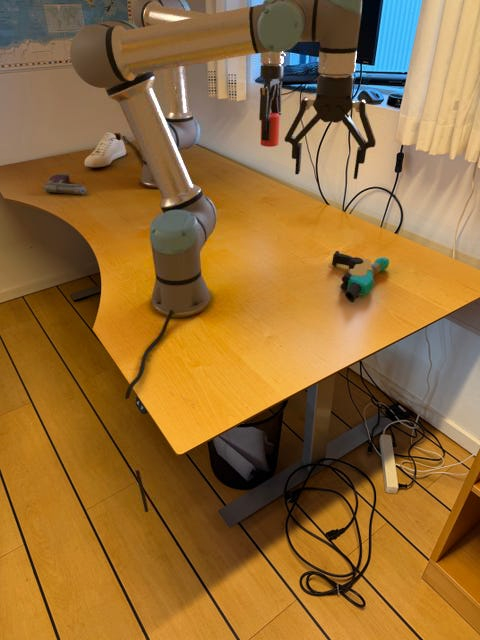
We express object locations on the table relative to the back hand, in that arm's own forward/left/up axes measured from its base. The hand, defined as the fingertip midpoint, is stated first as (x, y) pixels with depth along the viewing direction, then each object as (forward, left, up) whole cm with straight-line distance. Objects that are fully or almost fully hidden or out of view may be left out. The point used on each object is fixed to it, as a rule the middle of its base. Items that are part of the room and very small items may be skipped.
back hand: (269, 137), depth 168 cm
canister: (0, 0, -2) cm, 2 cm away
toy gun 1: (-63, -52, -23) cm, 85 cm away
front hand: (+54, -34, +8) cm, 64 cm away
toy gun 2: (+59, -23, -23) cm, 67 cm away
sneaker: (-85, -24, -23) cm, 91 cm away
